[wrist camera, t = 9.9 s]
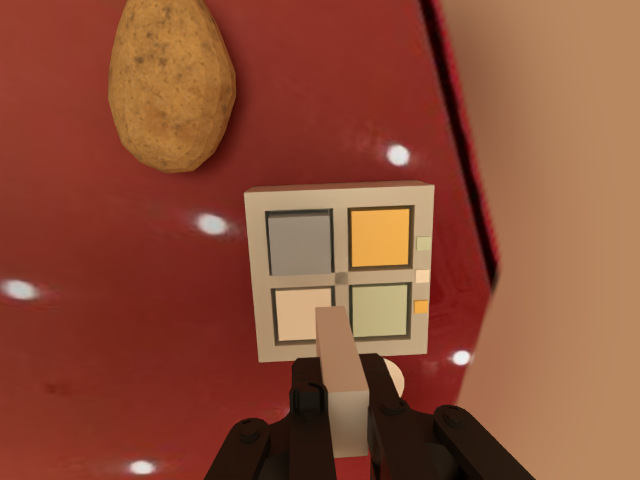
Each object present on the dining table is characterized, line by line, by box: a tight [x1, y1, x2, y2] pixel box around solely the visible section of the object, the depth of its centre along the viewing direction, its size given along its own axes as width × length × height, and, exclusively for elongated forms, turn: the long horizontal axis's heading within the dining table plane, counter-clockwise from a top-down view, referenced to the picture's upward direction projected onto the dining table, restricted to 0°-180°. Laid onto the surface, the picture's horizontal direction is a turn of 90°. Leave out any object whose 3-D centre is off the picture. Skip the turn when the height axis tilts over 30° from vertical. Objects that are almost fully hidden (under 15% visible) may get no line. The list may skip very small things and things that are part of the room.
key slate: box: [268, 210, 331, 276], centre depth 31 cm, size 5×5×3 cm
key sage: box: [349, 282, 407, 337], centre depth 34 cm, size 5×5×3 cm
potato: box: [108, 0, 236, 174], centre depth 28 cm, size 10×14×8 cm
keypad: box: [244, 180, 434, 362], centre depth 34 cm, size 16×16×6 cm
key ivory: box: [275, 286, 331, 341], centre depth 34 cm, size 5×5×3 cm
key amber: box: [348, 205, 409, 267], centre depth 32 cm, size 5×5×3 cm
